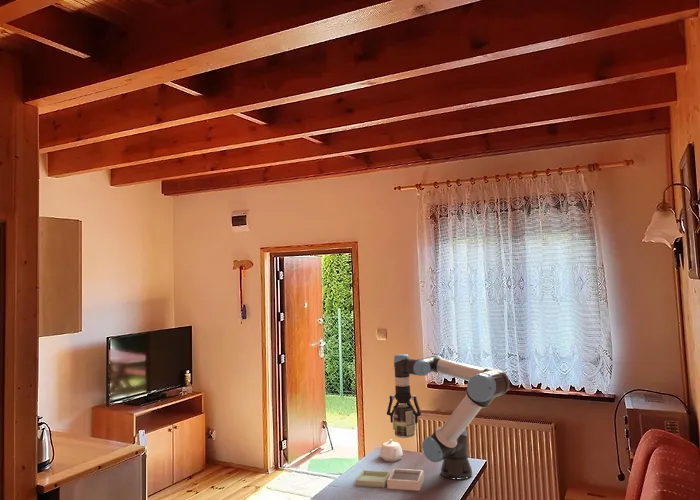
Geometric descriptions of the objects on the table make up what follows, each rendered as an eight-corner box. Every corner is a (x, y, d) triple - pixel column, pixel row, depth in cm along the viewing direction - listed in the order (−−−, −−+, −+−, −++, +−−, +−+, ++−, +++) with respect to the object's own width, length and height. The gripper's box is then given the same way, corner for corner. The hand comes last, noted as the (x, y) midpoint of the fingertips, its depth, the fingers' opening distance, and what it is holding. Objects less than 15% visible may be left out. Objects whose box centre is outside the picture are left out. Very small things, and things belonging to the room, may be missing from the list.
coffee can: (396, 438, 262) (395, 410, 262) (393, 432, 272) (391, 404, 273) (417, 437, 263) (415, 408, 263) (413, 430, 273) (411, 403, 274)
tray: (390, 476, 261) (390, 471, 261) (384, 487, 247) (384, 482, 247) (362, 475, 264) (362, 469, 264) (355, 485, 251) (355, 480, 251)
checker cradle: (423, 478, 257) (423, 470, 257) (419, 490, 242) (419, 481, 242) (393, 476, 261) (393, 468, 261) (387, 488, 246) (387, 479, 246)
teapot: (407, 464, 278) (406, 444, 279) (384, 466, 276) (384, 446, 276) (398, 452, 298) (397, 433, 298) (376, 454, 296) (375, 435, 296)
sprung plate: (420, 475, 256) (420, 473, 256) (416, 485, 244) (416, 483, 244) (395, 473, 259) (395, 471, 259) (390, 483, 247) (390, 481, 247)
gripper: (425, 383, 270) (427, 428, 268) (382, 383, 276) (384, 426, 274) (423, 386, 262) (425, 432, 261) (379, 386, 268) (381, 430, 267)
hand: (404, 429), depth 268 cm, fingers closed on coffee can, 10 cm apart
